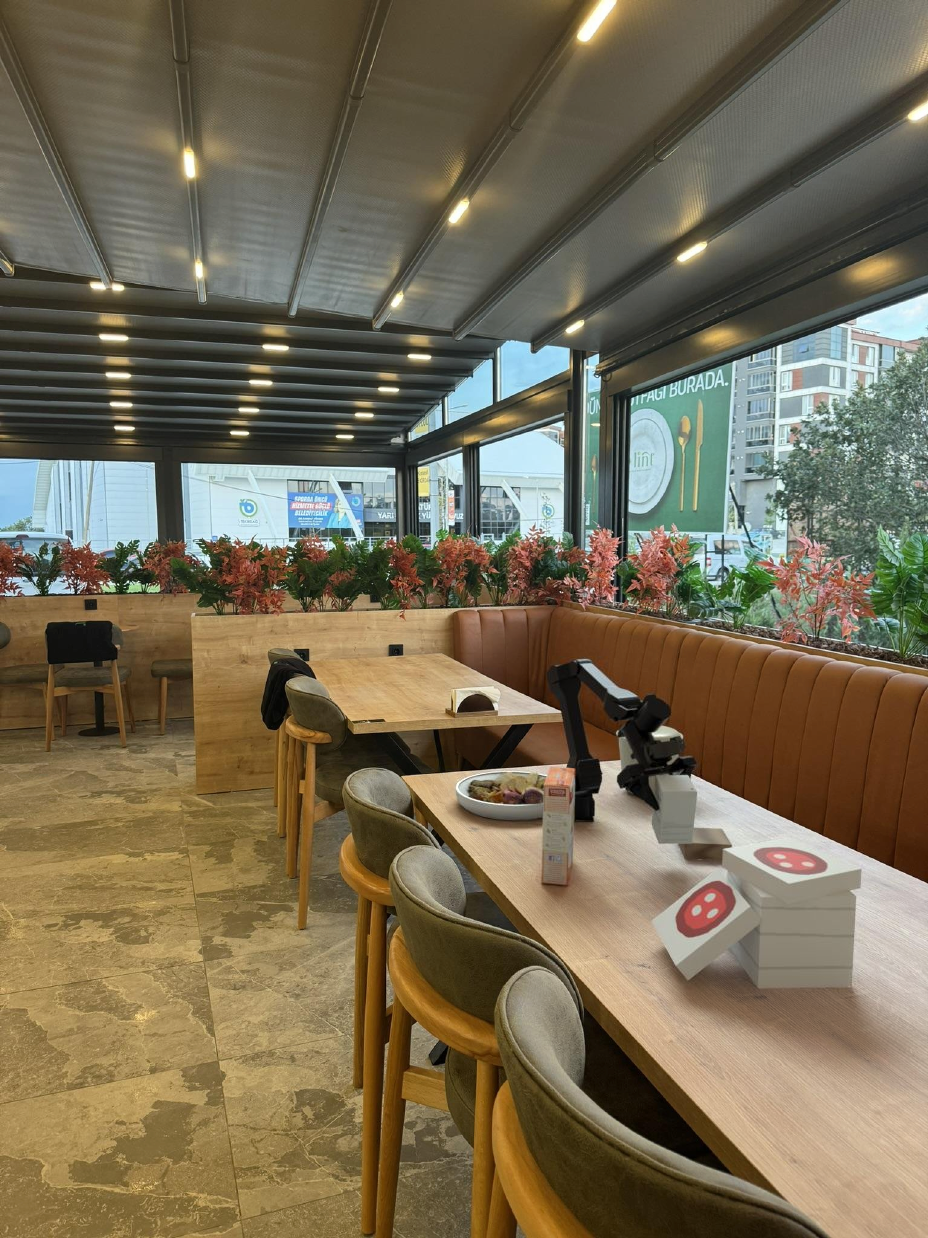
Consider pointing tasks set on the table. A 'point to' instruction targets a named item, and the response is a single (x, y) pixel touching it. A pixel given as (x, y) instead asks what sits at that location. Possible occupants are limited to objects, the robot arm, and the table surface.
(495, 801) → the bowl
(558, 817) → the cracker box
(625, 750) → the canister
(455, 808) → the table surface
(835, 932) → the pizza boxes
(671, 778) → the supplement box
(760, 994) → the table surface
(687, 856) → the walnut riser block
